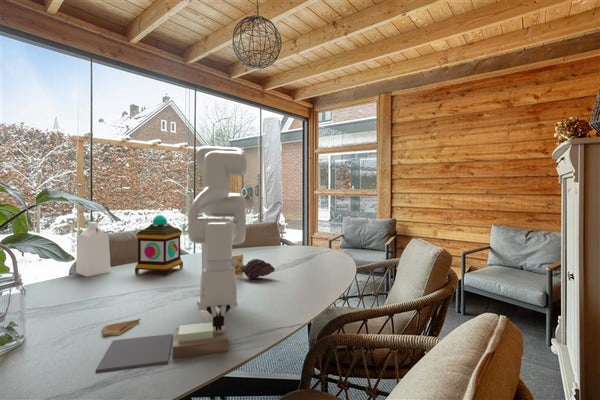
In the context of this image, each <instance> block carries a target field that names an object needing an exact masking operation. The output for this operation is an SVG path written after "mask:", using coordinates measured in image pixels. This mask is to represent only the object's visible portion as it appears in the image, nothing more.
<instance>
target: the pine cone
mask: <svg viewBox="0 0 600 400" xmlns="http://www.w3.org/2000/svg"><path fill="white" fill-rule="evenodd" d="M239 269H240V271H239V272H240V273H243V274H244V275H245V276H246V277H247V278H248V279H251V280H254V279H256V278H259V277H264V276H265V277H266V276H268V275H270V274H272V273H274V272H275V267H274V266H272V264H271V263H269V262H266V261H264V260H263V259H259V258H253V259H251V260H249V261H248V262H247V263H246V264H243V265H241V266H239Z"/></svg>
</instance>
